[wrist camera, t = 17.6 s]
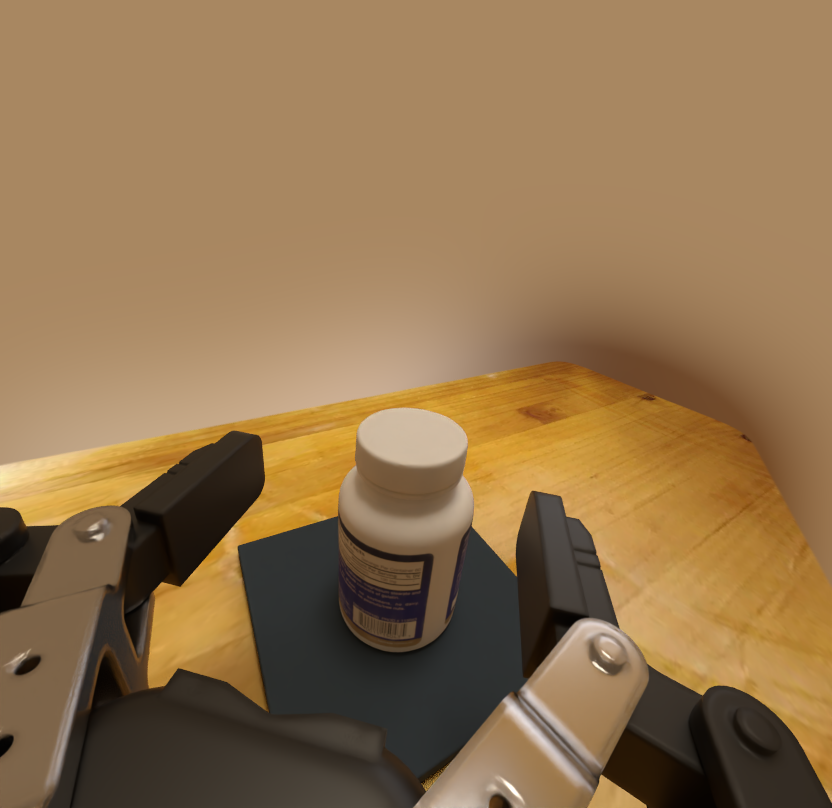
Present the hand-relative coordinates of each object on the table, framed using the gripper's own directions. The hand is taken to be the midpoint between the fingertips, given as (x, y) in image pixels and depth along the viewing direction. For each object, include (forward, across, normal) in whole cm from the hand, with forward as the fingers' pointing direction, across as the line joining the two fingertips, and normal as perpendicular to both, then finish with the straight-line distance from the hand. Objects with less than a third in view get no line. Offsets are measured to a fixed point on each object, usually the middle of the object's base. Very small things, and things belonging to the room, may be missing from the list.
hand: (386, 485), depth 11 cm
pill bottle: (+3, 0, +9) cm, 9 cm away
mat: (+3, 0, +9) cm, 10 cm away
